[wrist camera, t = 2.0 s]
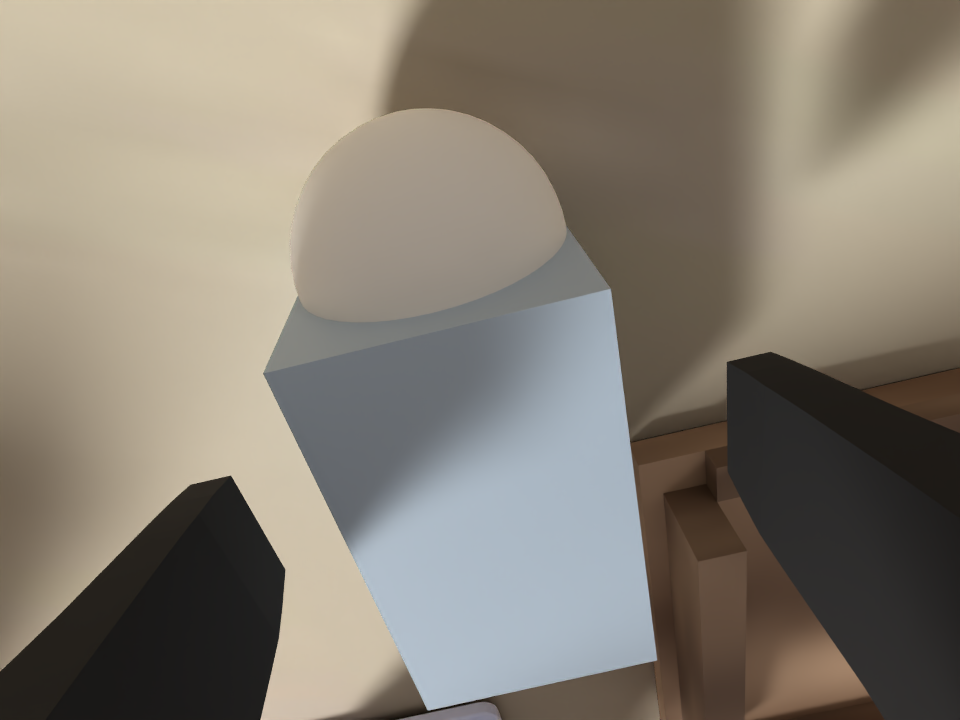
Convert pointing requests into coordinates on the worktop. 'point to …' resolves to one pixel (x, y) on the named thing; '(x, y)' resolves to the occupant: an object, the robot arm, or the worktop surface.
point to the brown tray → (742, 584)
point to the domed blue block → (465, 407)
